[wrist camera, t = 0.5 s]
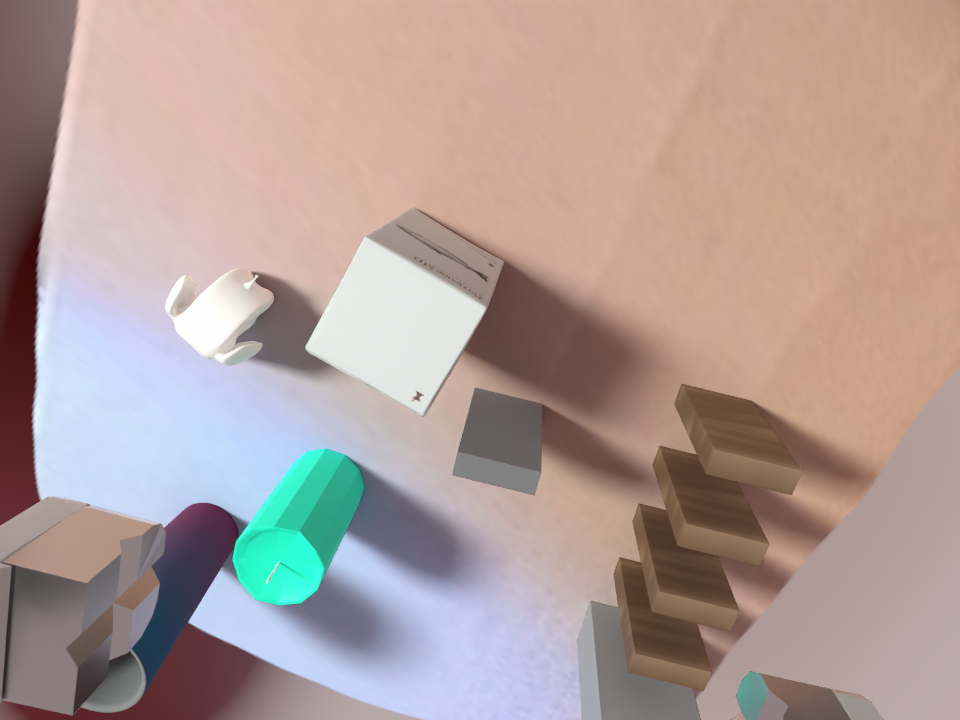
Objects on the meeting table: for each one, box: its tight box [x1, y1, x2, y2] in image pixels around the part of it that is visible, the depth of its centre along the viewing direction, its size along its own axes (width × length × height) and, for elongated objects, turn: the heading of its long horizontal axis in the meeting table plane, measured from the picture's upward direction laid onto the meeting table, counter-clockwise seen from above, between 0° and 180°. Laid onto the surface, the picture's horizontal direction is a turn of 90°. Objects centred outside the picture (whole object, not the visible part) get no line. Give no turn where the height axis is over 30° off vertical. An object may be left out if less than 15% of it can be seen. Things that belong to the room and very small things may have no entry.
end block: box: [577, 601, 701, 720], centre depth 49 cm, size 4×7×12 cm, turn 77°
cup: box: [81, 503, 238, 712], centre depth 48 cm, size 7×7×15 cm
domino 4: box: [614, 558, 712, 691], centre depth 48 cm, size 2×5×10 cm, turn 77°
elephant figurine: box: [166, 269, 274, 365], centre depth 45 cm, size 7×8×6 cm
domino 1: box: [675, 384, 802, 495], centre depth 43 cm, size 2×5×10 cm, turn 77°
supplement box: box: [305, 208, 504, 417], centre depth 40 cm, size 7×7×13 cm
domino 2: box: [653, 446, 770, 566], centre depth 44 cm, size 2×5×10 cm, turn 77°
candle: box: [233, 449, 365, 605], centre depth 47 cm, size 6×6×12 cm
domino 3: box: [633, 504, 739, 631], centre depth 46 cm, size 2×5×10 cm, turn 77°
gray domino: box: [452, 388, 542, 495], centre depth 44 cm, size 2×5×10 cm, turn 77°
